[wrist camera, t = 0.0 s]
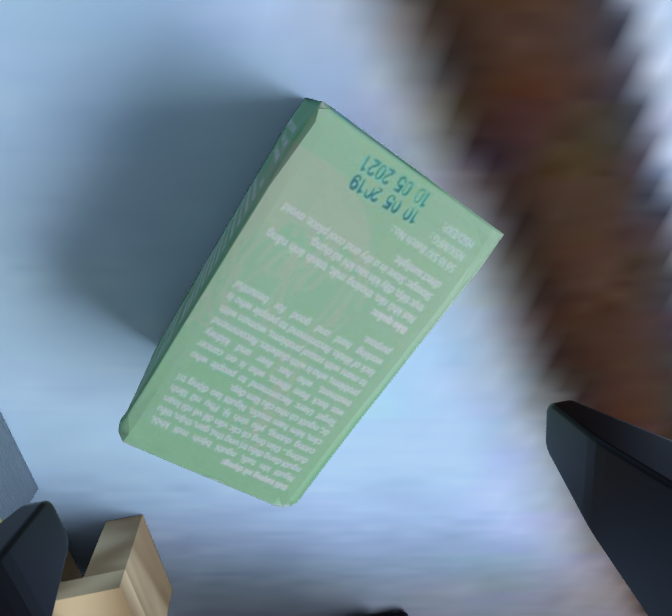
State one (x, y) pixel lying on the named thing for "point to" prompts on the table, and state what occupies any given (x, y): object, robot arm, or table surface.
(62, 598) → the tan stepped block
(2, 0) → the table surface
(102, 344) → the table surface
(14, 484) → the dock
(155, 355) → the box
